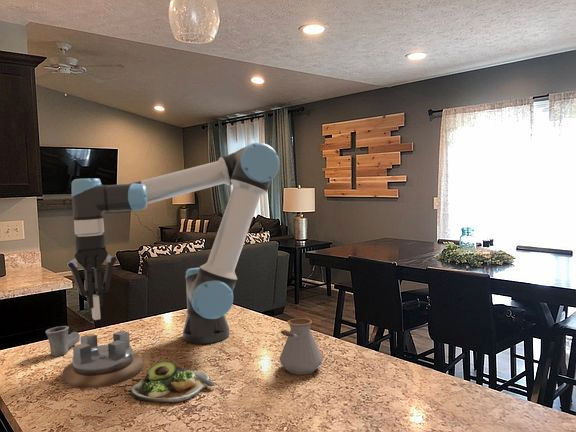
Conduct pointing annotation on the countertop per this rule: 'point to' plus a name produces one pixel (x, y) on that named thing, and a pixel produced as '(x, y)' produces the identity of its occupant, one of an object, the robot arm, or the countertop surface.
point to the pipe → (61, 340)
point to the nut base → (102, 375)
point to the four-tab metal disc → (102, 355)
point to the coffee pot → (300, 348)
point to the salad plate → (170, 383)
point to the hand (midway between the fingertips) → (96, 318)
